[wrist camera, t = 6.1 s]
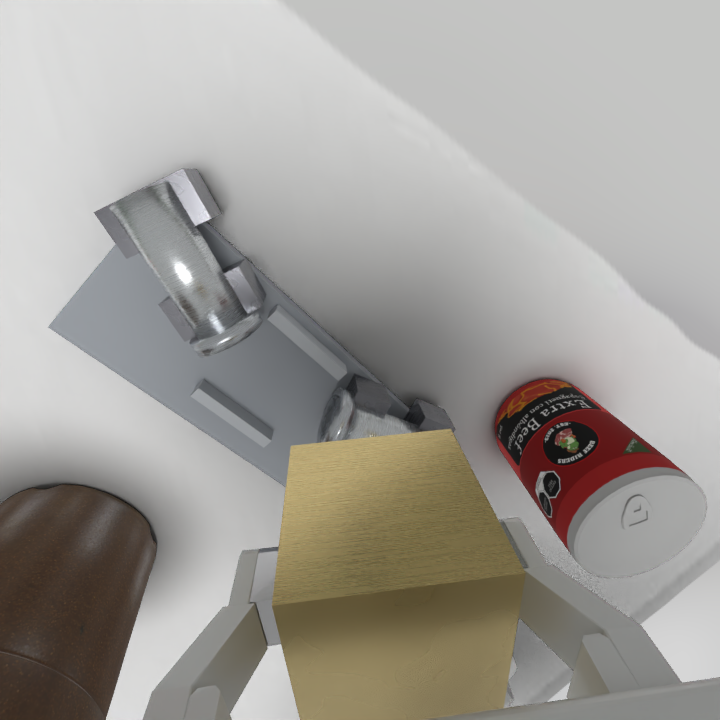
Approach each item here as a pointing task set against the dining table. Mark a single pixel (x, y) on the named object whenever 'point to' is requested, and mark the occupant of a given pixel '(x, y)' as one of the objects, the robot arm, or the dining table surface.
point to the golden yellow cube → (393, 581)
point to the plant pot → (67, 599)
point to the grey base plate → (216, 359)
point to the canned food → (597, 480)
